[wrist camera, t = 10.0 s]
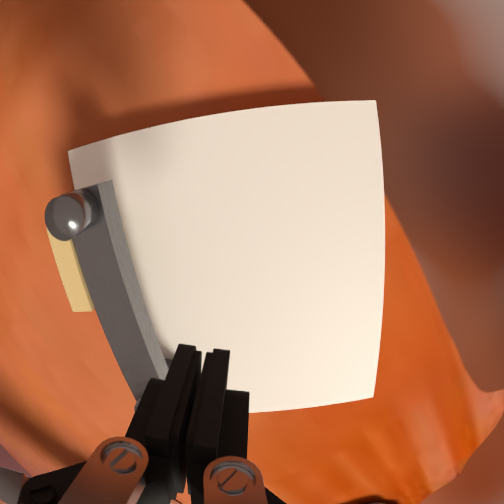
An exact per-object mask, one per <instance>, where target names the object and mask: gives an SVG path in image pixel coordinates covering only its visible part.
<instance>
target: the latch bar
mask: <svg viewBox="0 0 504 504" xmlns="http://www.w3.org/2000/svg"><path fill="white" fill-rule="evenodd" d="M45 223H46V226H47V228H48V230H49V232H50V233H51V235H52V236H53V237H55V238H56V239H58V240H60V241H68V240H70V239H72V241H73V245H74V248H75V251H76V255H77V258H78V261H79V264H80V267H81V271H82V274H83V277H84V279H85V282H86V285H87V288H88V291H89V294H90V297H91V299H92V302H93V305H94V307H95V310H96V313H97V315H98V318H99V320H100V323H101V325H102V328H103V330H104V333H105V335H106V337H107V340H108V342H109V344H110V347H111V349H112V351H113V353H114V356H115V358H116V360H117V362H118V364H119V367H120V369H121V371H122V373H123V375H124V377H125V379H126V381H127V383H128V385H129V387H130V389H131V391H132V393H133V395H134V397H135V399H136V401H137V403H136V405H135V411H136V409H137V407H138V404H139V402H140V400H141V397H142V395H143V393H144V390H145V388H146V386H147V384H148V381H149V380H150V378H157V379H162V380H165V378H166V375H167V373H168V370H169V368H170V365H171V362H172V360H173V359H164V356H163V353H162V351H161V348H160V345H159V343H158V340H157V337H156V334H155V331H154V329H153V326H152V323H151V320H150V317H149V314H148V311H147V308H146V305H145V302H144V299H143V296H142V292H141V289H140V286H139V283H138V279H137V276H136V273H135V269H134V266H133V262H132V259H131V255H130V252H129V248H128V244H127V241H126V237H125V233H124V229H123V225H122V221H121V217H120V213H119V209H118V204H117V200H116V196H115V191H114V187H113V182H112V180H109V181H105V182H101V183H98V184H94V185H90V186H87V187H83V188H80V189H76V190H74V191H71V192H68V193H65V194H62V195H61V196H59V197H56V198H54V199H52V200H51V201H50V202H49V203H48V205H47V207H46V210H45Z"/></svg>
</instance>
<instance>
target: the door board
mask: <svg viewBox="0 0 504 504" xmlns="http://www.w3.org/2000/svg"><path fill="white" fill-rule="evenodd" d="M68 156H69V162H70V168H71V173H72V179H73V184H74V189H75V190H76V189H80V188H83V187H87V186H90V185H94V184H98V183H101V182H105V181H109V180H112V182H113V187H114V191H115V196H116V200H117V204H118V209H119V213H120V217H121V221H122V225H123V229H124V233H125V237H126V241H127V244H128V248H129V252H130V255H131V259H132V262H133V266H134V269H135V273H136V276H137V279H138V283H139V286H140V289H141V292H142V296H143V299H144V302H145V305H146V308H147V311H148V314H149V317H150V320H151V323H152V326H153V329H154V331H155V334H156V337H157V340H158V343H159V345H160V348H161V351H162V353H163V356H164V359H173V357H174V355H175V352H176V349H177V347H178V345H179V344H187V345H193V346H196V350H198V351H202V365H201V372H202V368H203V364H204V360H205V356H206V352H212V353H213V349H214V348H215V349H223V350H230V359H229V370H228V380H227V389H228V390H237V391H247V392H249V393H250V397H249V413H253V412H268V411H280V410H290V409H300V408H308V407H316V406H323V405H330V404H337V403H343V402H349V401H355V400H361V399H366V398H371V397H373V394H374V387H375V380H376V373H377V365H378V356H379V347H380V337H381V325H382V312H383V295H384V271H385V208H384V183H383V167H382V155H381V142H380V132H379V123H378V114H377V106H376V101H375V100H371V101H368V100H367V101H335V102H315V103H301V104H290V105H279V106H270V107H262V108H254V109H246V110H239V111H232V112H226V113H219V114H213V115H208V116H202V117H197V118H191V119H186V120H181V121H176V122H172V123H167V124H163V125H158V126H154V127H150V128H145V129H141V130H137V131H133V132H130V133H126V134H122V135H118V136H115V137H111V138H108V139H104V140H101V141H97V142H94V143H91V144H88V145H84V146H81V147H78V148H75V149H72V150H69V151H68ZM47 232H48V236H49V239H50V243H51V247H52V250H53V254H54V257H55V260H56V264H57V267H58V270H59V273H60V276H61V279H62V282H63V285H64V288H65V291H66V294H67V296H68V299H69V302H70V305H71V307H72V310H73V312H82V311H93V309H94V308H95V307H94V305H93V302H92V299H91V297H90V294H89V291H88V288H87V285H86V282H85V279H84V277H83V274H82V271H81V267H80V264H79V261H78V258H77V255H76V251H75V248H74V245H73V241H72V239H70V240H68V241H60V240H58V239H56V238H55V237H53V236H52V235H51V233H50V232H49V230H48V228H47Z"/></svg>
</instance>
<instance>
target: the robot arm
mask: <svg viewBox="0 0 504 504" xmlns="http://www.w3.org/2000/svg"><path fill="white" fill-rule="evenodd" d="M229 359H230V350H223V349H215V348H214V349H213V353H212V352H206V356H205V360H204V364H203V368H202V372H201V365H202V351H198V350H196V346H193V345H187V344H179V345H178V347H177V349H176V352H175V355H174V357H173V360H172V362H171V365H170V368H169V370H168V373H167V375H166V378H165V380H162V379H157V378H150V380H149V381H148V384H147V386H146V388H145V390H144V393H143V395H142V397H141V400H140V402H139V404H138V407H137V409H136V411H135V414H134V416H133V418H132V421H131V423H130V426H129V428H128V430H127V433H126V435H125V437H113V438H109V439H107V440H105V441H103V442H102V443H101V444H100V445H99V446H98V447H97V448H96V449H95V451H94V452H93V454H92V455H91V456H90V458H89V459H88V461H85V462H82V463H79V464H76V465H73V466H69V467H66V468H63V469H59V470H56V471H52V472H49V473H45V474H41V475H37V476H35V477H32V478H30V477H26V475H25V474H24V473H20V472H16V471H13V470H9V469H7V468H3V467H0V504H180V503H178V502H177V501H175V500H176V495H177V492H178V493H183V492H184V488H185V483H186V478H187V485H188V494H189V495H191V504H286V503H285V502H283V501H282V500H281V499H279V498H278V497H277V496H276V495H274V494H273V493H272V492H271V491H269V490H268V489H267V488H265V487H264V482H263V477H262V474H261V472H260V470H259V469H258V467H257V466H256V465H255V464H254V463H252V462H250V461H249V460H247V442H248V420H249V397H250V393H249V392H247V391H237V390H228V389H227V380H228V370H229Z"/></svg>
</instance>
